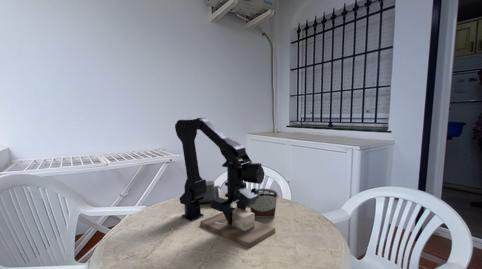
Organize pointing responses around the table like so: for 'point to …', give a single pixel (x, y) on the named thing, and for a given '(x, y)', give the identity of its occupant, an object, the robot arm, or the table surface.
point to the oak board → (243, 238)
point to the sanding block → (242, 220)
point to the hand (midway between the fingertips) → (235, 222)
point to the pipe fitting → (211, 192)
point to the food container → (265, 203)
